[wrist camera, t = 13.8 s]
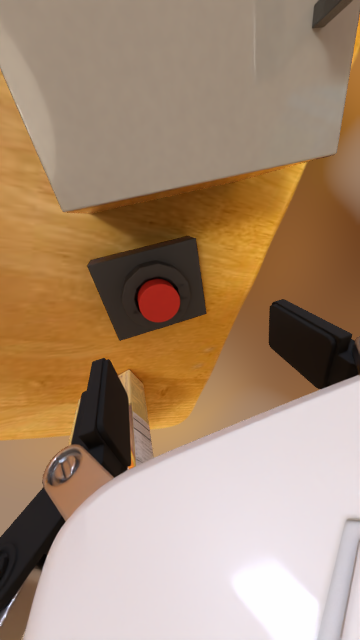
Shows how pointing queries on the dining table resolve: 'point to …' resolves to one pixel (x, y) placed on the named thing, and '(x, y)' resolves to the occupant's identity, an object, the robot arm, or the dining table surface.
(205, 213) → the dining table surface
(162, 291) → the button
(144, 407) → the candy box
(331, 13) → the grey box lid
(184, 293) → the switch block
